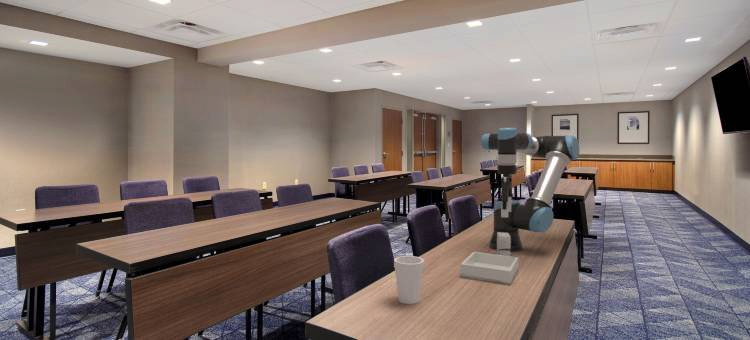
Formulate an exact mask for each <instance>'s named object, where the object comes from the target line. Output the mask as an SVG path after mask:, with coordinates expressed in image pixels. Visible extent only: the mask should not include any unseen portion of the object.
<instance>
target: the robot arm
mask: <svg viewBox="0 0 750 340" xmlns="http://www.w3.org/2000/svg"><path fill="white" fill-rule="evenodd" d="M480 144H481V147H482V148H483V150H487V151H491V150H492V151H497V156H496V157H495V158H496V159H497V164H498V165H497V174H498V175H503V176H502V177H501V181H500V182H501V190H500V191H501V192H500V198H499V200H498V201H496V202H495V203H494V205H493V231H492V234H491V237H490V240H489V245H488V246H489V248H490V249H493V250H496V251H497V232H503V233H508V234H509V235H510V237H511V241H510V252H520V251H521V250H522V249H523V243H522V240H521V236H520V233H519V232H520V231H519V230H525V231H527V232H528V231H529V232H532V233H545V232H547V231H548V230H549V229H550V228H551V227H552V225H553V222H554V211H553V210H552V205H551V202H552V199H553V197H554V195H555V194H556V193H555V192H556V190H557V187H558V185H559V182H560V181H561V177H562V175H563V172H564V169H565V168H566V167H567V166H569V165H570V164H571V162H572V160H577V159H578V158H579V156H580V143H579V140H578V138H577V137H576V136H574V135H568V134H566V135H540V136H532V135H531V134H530V133H529V132H517V128H516V127H501V128H498V130H497V133H491V132H490V133H485V134H483V135H482V136H481V139H480ZM517 153H522V154H524V155H526V156H532V157H536V158H540V159H541V158H542V159H546V162H545V164H544V167H543V170H542V171H541V174H540V176H539V178H538V181H537V183H536V184H535V188H534V190H533V193H532V194H531V197H528V198H527V199H526V200H525V202H524V203H522V204H521V202H520V201H519V200H513V199H512V197H514V194H513V189H512V184H513V183H512V182H513V178H512V175H516V174H517V165H516V164H517V159H518V158H517Z"/></svg>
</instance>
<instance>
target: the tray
mask: <svg viewBox="0 0 750 340" xmlns="http://www.w3.org/2000/svg"><path fill="white" fill-rule="evenodd" d="M518 271H519V257H518V256H517V257H516V256H511V255H510V256H503V255H497V254H495V253H486V252H479V251H473V252H472V253H471V254H469V255H468V256H467V257H466V258H465V259H464V260H463V261H462V262H461V263H460V275H459V277H460V278H464V279H469V280H470V279H471V280H477V281H483V282H489V283H495V284H502V285H508V286H511V285H512V282H513V281H514V278H515V277H516V276H517V273H518Z"/></svg>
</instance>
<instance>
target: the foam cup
mask: <svg viewBox="0 0 750 340" xmlns="http://www.w3.org/2000/svg"><path fill="white" fill-rule="evenodd" d="M393 267H394V272H395V281H396V290H397V296H398V301H399V302H400V303H402V304H406V305H414V304H417V303H418V302H419V299H420V293H421V287H422V279H423V274H424V272H423V271H424V268H425V260H424V258H421V257H419V256H413V255H402V256H397V257H395V258H394V260H393Z"/></svg>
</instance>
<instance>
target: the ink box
mask: <svg viewBox="0 0 750 340" xmlns="http://www.w3.org/2000/svg"><path fill="white" fill-rule="evenodd" d="M510 241H511V237H510V235H509V234H508V233H503V232H497V250H496V255H503V256H511V251H510Z"/></svg>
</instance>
